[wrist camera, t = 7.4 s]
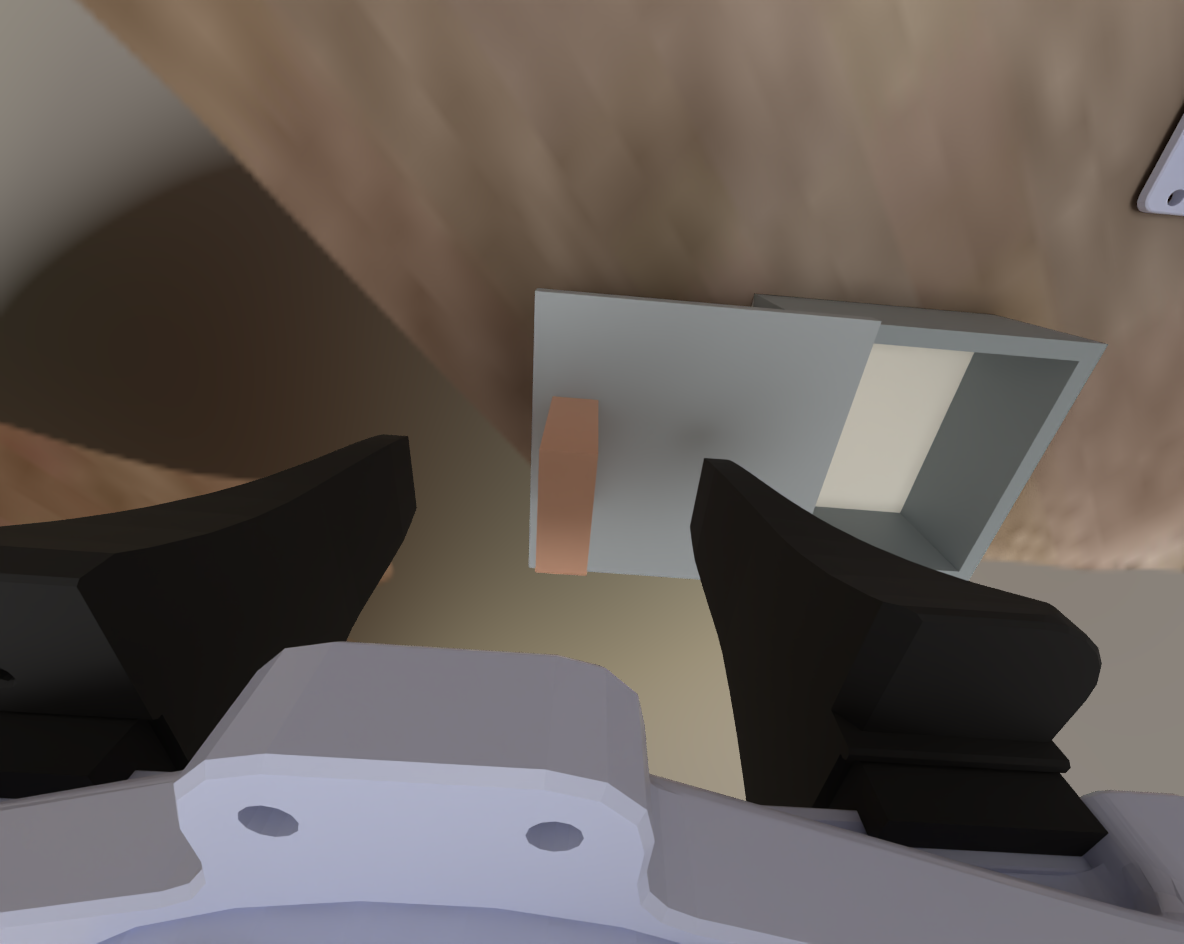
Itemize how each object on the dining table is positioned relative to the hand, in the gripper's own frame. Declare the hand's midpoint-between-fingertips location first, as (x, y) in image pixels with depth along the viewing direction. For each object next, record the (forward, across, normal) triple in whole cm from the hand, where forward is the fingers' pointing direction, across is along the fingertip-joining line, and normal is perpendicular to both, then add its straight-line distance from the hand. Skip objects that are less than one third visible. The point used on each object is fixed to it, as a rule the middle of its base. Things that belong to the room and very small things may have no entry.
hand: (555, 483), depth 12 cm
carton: (+10, -12, +2) cm, 16 cm away
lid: (+5, -4, +2) cm, 7 cm away
